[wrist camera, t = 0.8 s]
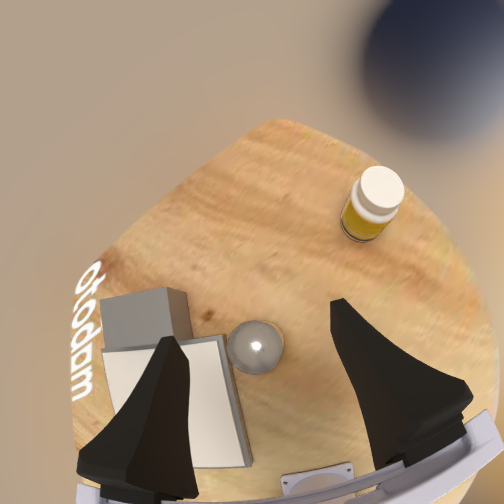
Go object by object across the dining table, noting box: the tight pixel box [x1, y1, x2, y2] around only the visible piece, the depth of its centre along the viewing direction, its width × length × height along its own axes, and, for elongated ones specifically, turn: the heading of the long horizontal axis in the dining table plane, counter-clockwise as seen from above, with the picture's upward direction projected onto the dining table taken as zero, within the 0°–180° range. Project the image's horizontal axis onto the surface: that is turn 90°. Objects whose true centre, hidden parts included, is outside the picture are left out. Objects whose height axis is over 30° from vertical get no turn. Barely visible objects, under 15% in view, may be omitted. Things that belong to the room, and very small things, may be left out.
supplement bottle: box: [340, 166, 404, 242], centre depth 24 cm, size 5×5×8 cm
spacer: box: [227, 321, 284, 375], centre depth 24 cm, size 4×4×6 cm
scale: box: [100, 287, 253, 469], centre depth 24 cm, size 20×15×5 cm
